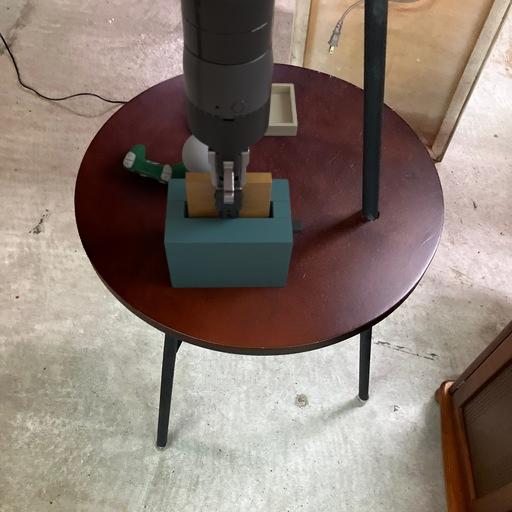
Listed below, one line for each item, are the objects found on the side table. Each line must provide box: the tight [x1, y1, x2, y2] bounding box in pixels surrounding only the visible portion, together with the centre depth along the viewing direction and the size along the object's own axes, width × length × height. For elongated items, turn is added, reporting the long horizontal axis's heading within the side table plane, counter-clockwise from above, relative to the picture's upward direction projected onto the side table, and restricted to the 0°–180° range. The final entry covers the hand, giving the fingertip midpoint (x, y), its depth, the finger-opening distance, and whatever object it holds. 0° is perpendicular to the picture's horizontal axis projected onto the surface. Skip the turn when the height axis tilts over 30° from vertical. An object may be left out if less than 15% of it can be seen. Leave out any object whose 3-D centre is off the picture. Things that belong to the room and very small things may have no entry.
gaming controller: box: [122, 143, 189, 185], centre depth 76 cm, size 9×4×6 cm
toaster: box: [163, 178, 303, 289], centre depth 66 cm, size 16×9×10 cm, turn 92°
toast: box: [185, 172, 273, 218], centre depth 61 cm, size 9×1×10 cm, turn 92°
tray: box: [263, 83, 298, 137], centre depth 84 cm, size 14×9×2 cm, turn 92°
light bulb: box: [181, 134, 211, 172], centre depth 72 cm, size 6×6×10 cm
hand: (228, 206), depth 62 cm, fingers closed
